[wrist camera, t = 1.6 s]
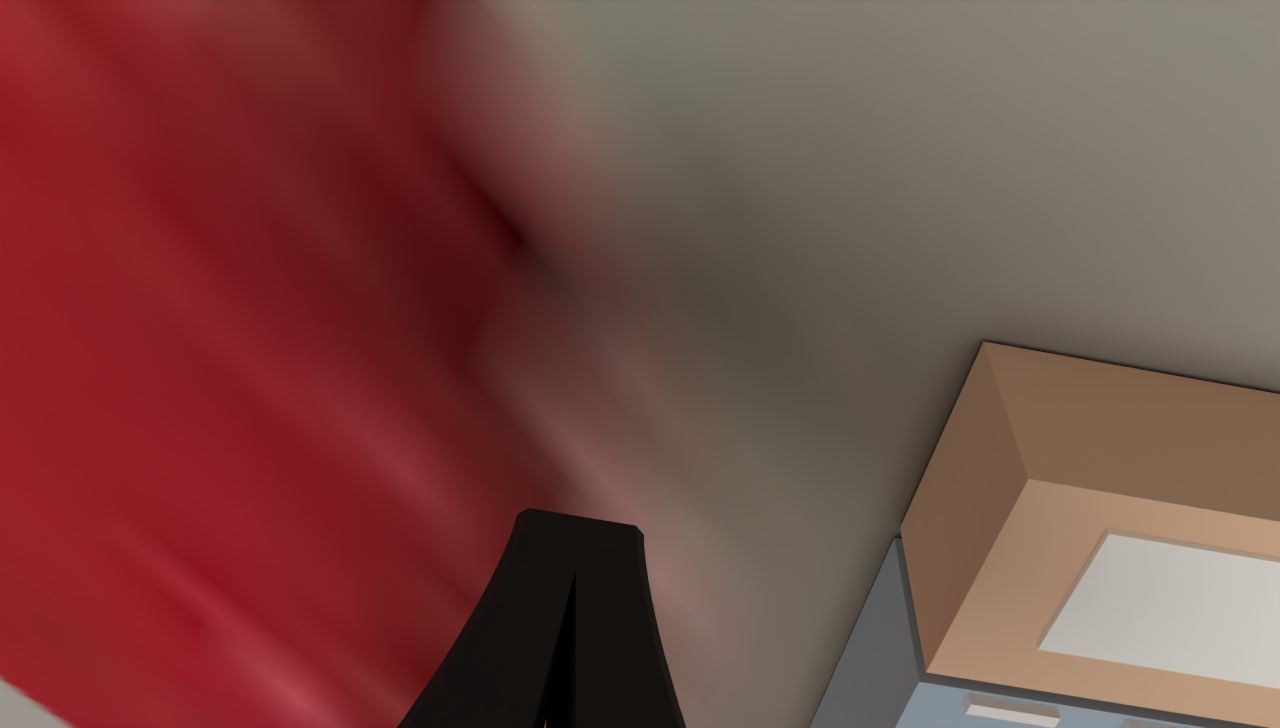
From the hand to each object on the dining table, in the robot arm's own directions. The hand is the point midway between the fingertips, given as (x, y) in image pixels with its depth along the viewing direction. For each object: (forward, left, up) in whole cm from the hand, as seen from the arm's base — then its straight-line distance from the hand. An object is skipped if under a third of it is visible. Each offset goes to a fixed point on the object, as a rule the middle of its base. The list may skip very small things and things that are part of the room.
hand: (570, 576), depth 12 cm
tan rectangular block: (-1, -9, -5) cm, 10 cm away
